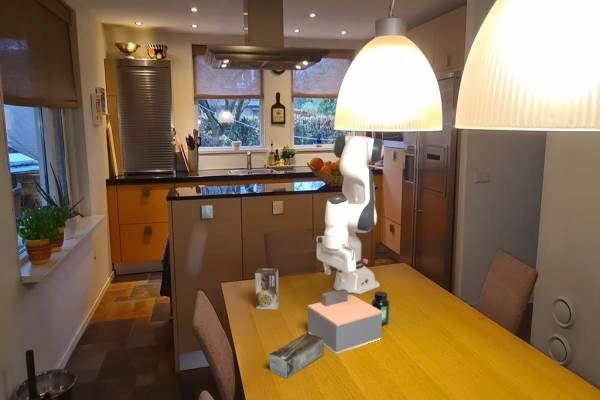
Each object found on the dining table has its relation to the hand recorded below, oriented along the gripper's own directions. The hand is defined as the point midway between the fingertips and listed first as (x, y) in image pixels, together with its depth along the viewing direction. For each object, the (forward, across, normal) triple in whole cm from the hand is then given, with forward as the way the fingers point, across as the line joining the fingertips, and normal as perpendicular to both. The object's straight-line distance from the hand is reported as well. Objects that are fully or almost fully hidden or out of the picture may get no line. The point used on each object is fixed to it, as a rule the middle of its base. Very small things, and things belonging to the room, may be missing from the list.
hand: (335, 277), depth 165 cm
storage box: (+21, -6, 0) cm, 21 cm away
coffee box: (+21, +32, +12) cm, 40 cm away
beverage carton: (+22, -12, +23) cm, 34 cm away
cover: (+10, -6, 0) cm, 12 cm away
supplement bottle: (+20, -4, -20) cm, 29 cm away
